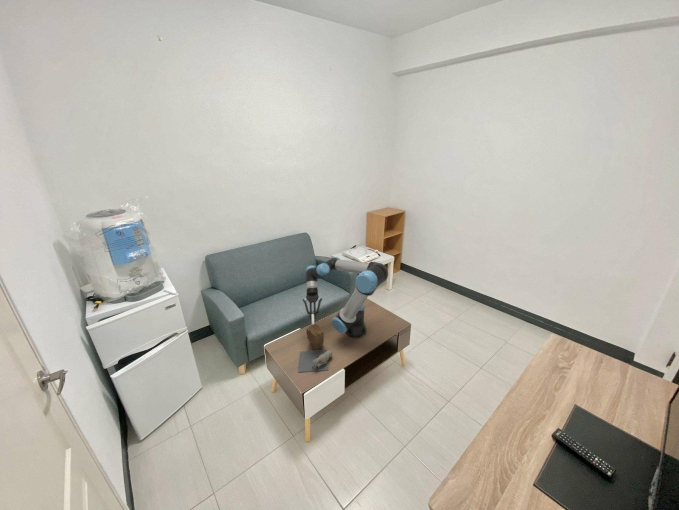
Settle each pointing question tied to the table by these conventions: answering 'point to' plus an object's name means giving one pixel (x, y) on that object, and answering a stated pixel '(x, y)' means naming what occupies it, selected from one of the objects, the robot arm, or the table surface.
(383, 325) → the table surface
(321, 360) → the decorative bird
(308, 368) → the mat
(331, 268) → the robot arm
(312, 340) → the block
